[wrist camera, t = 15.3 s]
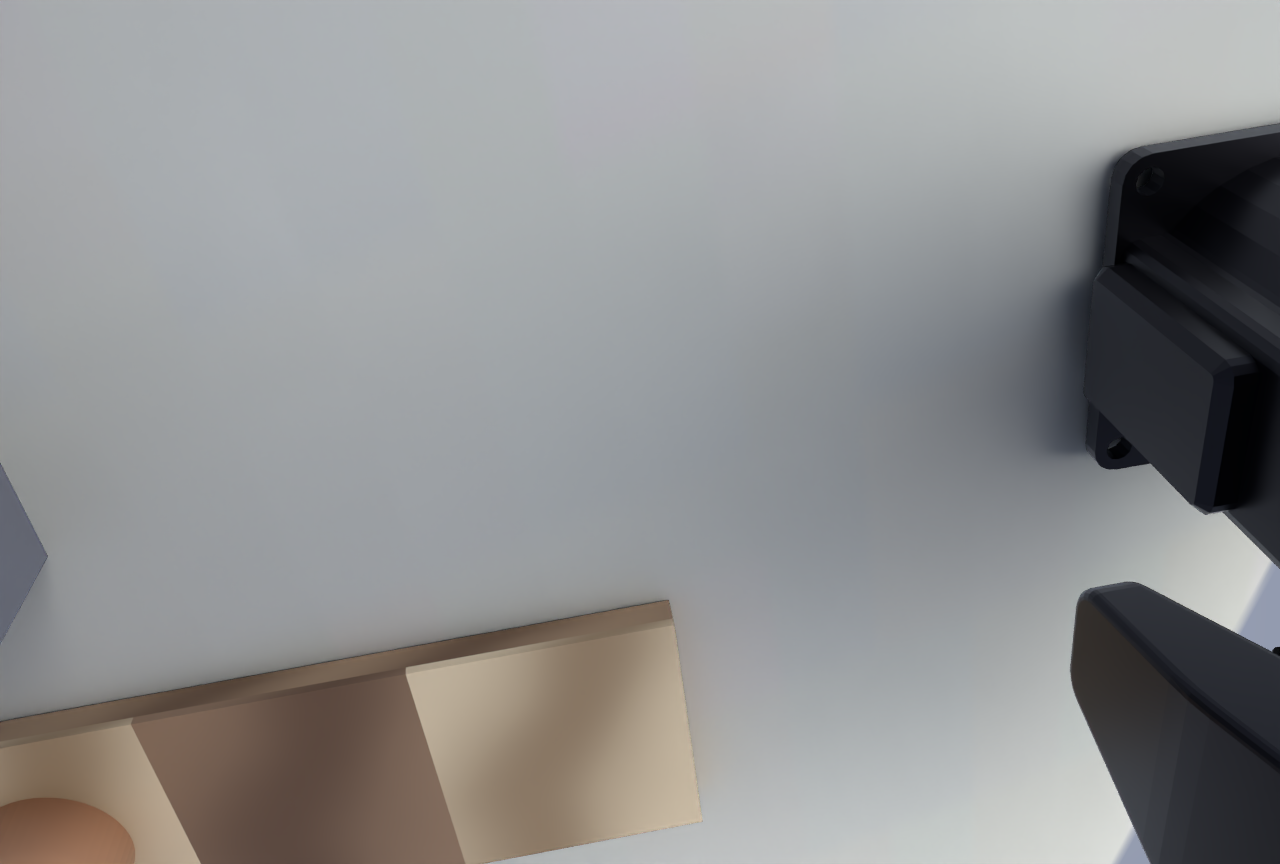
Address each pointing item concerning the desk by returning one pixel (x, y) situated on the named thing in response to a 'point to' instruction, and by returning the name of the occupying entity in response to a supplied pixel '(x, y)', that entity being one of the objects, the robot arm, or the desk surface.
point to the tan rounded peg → (61, 834)
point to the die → (15, 554)
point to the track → (389, 752)
